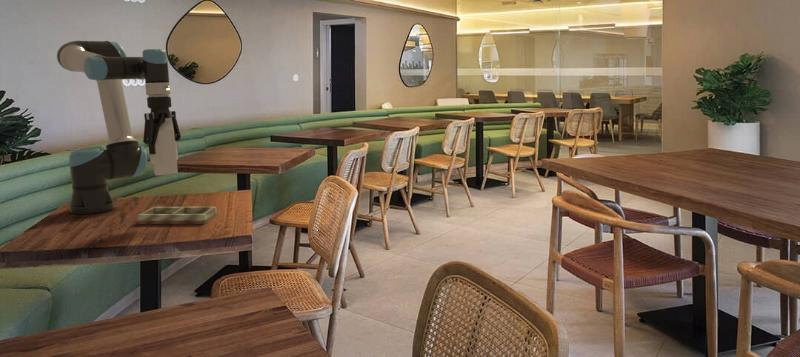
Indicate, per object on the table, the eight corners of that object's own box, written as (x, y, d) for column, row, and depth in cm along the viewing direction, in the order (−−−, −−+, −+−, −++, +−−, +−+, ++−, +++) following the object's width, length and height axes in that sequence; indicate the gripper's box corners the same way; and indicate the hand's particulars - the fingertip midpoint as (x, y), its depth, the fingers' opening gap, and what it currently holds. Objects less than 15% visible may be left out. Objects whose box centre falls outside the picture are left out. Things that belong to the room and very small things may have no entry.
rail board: (138, 224, 203) (137, 214, 203) (153, 215, 215) (152, 206, 214) (205, 223, 203) (204, 214, 202) (216, 215, 214) (216, 206, 214)
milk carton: (178, 174, 203) (172, 118, 200) (155, 176, 200) (150, 119, 197) (175, 171, 210) (170, 117, 207) (154, 173, 207) (148, 118, 204)
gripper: (146, 96, 189) (153, 166, 193) (188, 94, 211) (193, 157, 214) (126, 97, 191) (133, 166, 195) (169, 95, 212) (175, 157, 216)
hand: (165, 161), depth 204 cm, fingers closed on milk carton, 10 cm apart
